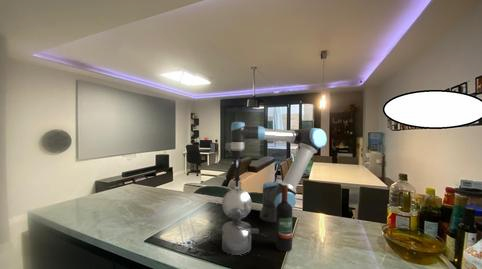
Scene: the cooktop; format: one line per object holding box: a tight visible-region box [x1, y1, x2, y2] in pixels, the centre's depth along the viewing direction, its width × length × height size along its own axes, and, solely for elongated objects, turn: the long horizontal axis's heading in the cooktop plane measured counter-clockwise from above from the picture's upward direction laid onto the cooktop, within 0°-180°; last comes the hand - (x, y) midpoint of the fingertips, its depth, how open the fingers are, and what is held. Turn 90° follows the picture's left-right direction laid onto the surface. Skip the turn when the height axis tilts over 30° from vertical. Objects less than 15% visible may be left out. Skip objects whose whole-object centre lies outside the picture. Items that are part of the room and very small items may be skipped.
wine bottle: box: [275, 185, 293, 253], centre depth 102 cm, size 8×8×30 cm
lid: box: [221, 188, 253, 221], centre depth 112 cm, size 16×16×2 cm
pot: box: [214, 220, 260, 256], centre depth 101 cm, size 14×21×10 cm, turn 91°
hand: (236, 191), depth 117 cm, fingers closed
